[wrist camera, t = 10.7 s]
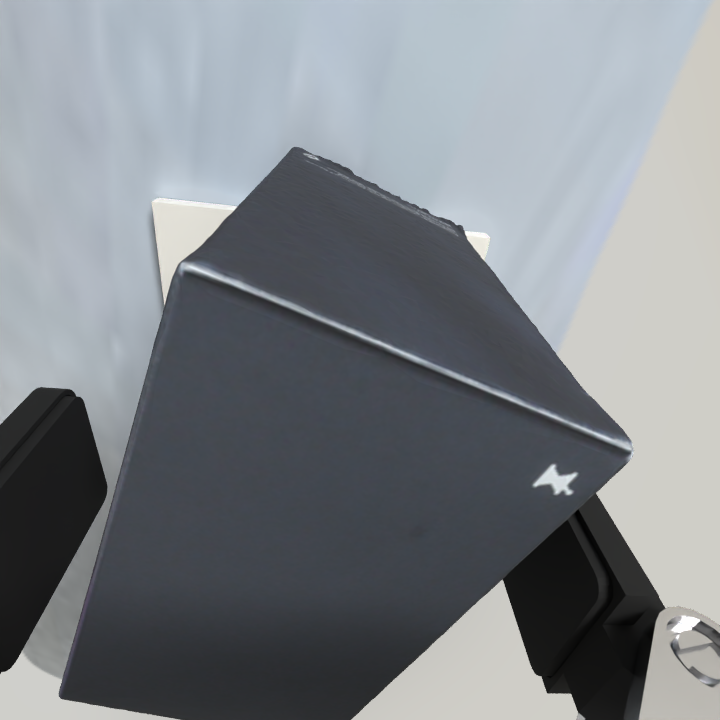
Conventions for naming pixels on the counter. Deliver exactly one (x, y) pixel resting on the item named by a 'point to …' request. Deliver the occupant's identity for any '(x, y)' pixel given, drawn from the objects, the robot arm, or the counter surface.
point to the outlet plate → (211, 232)
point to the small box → (326, 460)
